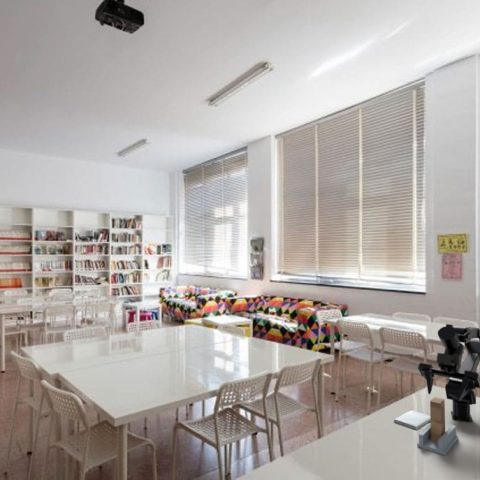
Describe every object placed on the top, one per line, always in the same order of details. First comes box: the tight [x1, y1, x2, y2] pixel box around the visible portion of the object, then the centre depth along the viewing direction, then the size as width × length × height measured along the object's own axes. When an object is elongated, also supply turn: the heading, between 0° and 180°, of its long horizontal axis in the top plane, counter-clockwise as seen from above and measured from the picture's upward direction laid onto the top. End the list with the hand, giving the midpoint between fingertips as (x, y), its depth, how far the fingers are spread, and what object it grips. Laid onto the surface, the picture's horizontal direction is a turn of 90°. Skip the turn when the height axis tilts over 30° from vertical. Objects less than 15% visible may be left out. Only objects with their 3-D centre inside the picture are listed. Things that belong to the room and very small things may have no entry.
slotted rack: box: [417, 422, 459, 456], centre depth 128 cm, size 14×8×4 cm, turn 137°
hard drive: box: [393, 409, 431, 431], centre depth 144 cm, size 2×8×12 cm
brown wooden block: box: [429, 396, 446, 442], centre depth 128 cm, size 4×3×12 cm, turn 137°
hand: (443, 397), depth 133 cm, fingers open, 9 cm apart
